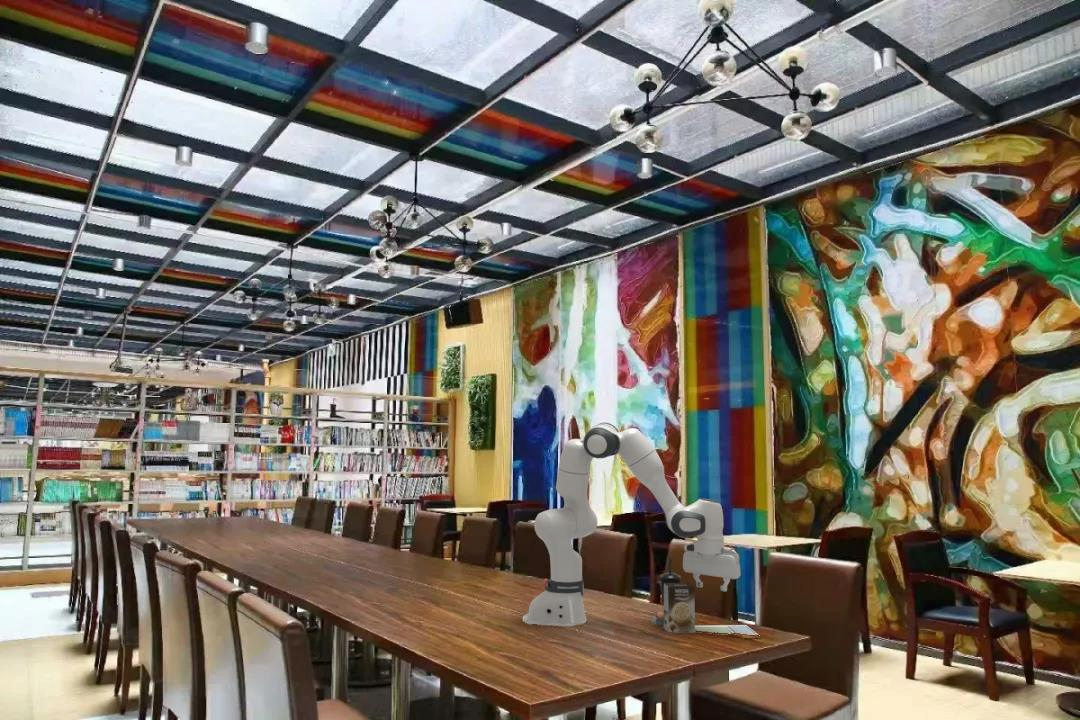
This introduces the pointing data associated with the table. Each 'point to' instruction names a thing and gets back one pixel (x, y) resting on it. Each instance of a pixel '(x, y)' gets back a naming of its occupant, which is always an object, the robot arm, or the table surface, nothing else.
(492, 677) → the table surface
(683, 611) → the coffee box
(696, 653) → the table surface
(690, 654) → the table surface
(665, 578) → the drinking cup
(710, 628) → the picture board
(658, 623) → the button housing
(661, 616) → the button
